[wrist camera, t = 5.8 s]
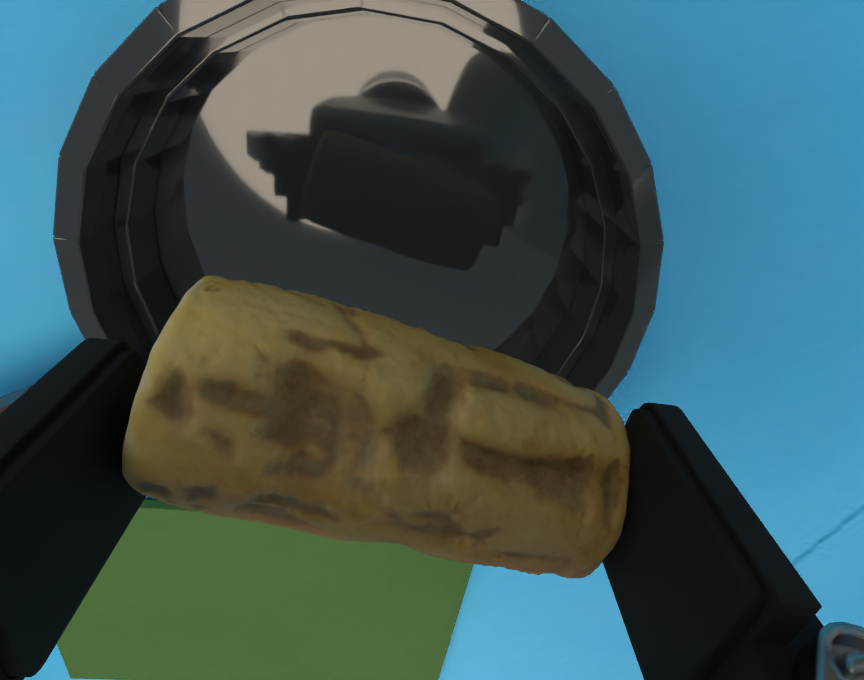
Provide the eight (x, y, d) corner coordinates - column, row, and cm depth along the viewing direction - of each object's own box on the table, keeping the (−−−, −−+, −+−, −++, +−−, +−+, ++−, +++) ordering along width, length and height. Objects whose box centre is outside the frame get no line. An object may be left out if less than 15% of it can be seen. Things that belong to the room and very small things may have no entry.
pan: (690, 30, 13) (775, 28, 10) (541, 453, 21) (564, 524, 18) (81, -88, 12) (-36, -133, 9) (158, 420, 19) (111, 493, 16)
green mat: (482, 521, 23) (484, 530, 23) (434, 680, 30) (435, 689, 30) (7, 488, 21) (-2, 498, 20) (75, 668, 28) (70, 678, 27)
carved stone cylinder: (606, 364, 11) (687, 506, 8) (521, 493, 13) (554, 655, 9) (227, 229, 10) (109, 329, 6) (194, 398, 12) (89, 547, 8)
